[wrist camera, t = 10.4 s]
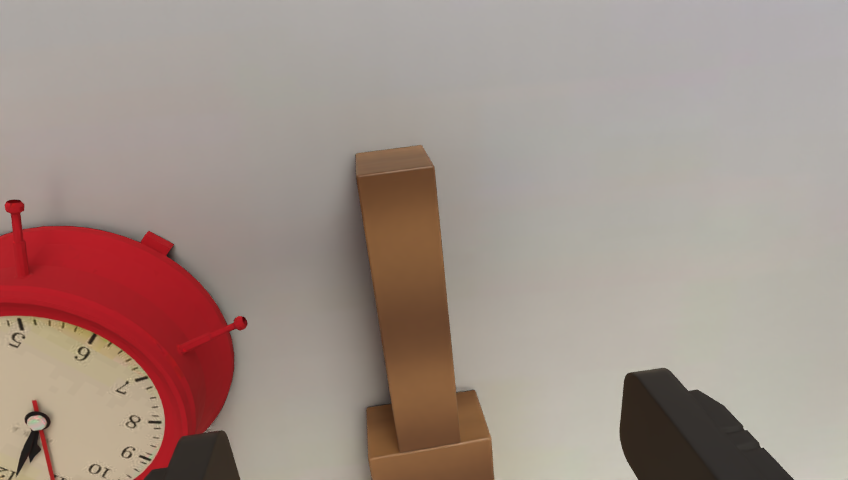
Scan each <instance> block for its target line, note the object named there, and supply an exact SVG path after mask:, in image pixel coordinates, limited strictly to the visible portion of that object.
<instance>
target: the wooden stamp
mask: <svg viewBox="0 0 848 480" xmlns="http://www.w3.org/2000/svg"><path fill="white" fill-rule="evenodd" d="M355 158H356V180H357V187H358V193H359V199H360V206H361V212H362V219H363V225H364V231H365V238H366V244H367V251H368V257H369V263H370V270H371V276H372V282H373V289H374V295H375V302H376V308H377V314H378V321H379V327H380V334H381V340H382V346H383V353H384V359H385V366H386V372H387V378H388V385H389V391H390V397H391V404H387V405H381V406H375V407H369V408H367V410H366V415H367V441H368V461H369V467H370V472H371V477H372V480H494V471H493V456H492V441H491V436H490V433H489V430H488V427H487V424H486V421H485V418H484V415H483V412H482V409H481V406H480V403H479V400H478V397H477V394H476V392H475V390H471V391H465V392H459V393H456V386H455V376H454V365H453V355H452V345H451V334H450V324H449V314H448V303H447V293H446V282H445V272H444V262H443V251H442V241H441V230H440V220H439V210H438V199H437V189H436V178H435V168H434V165H433V164H432V162H431V160H430V158H429V157H428V155H427V153H426V151H425V150H424V148H423V146H422V145H418V146H410V147H403V148H395V149H387V150H379V151H372V152H364V153H357V154H356V155H355Z"/></svg>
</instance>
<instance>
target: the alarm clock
mask: <svg viewBox="0 0 848 480" xmlns="http://www.w3.org/2000/svg"><path fill="white" fill-rule="evenodd" d="M5 210H6V211H7V212H9V213H11V218H12V228H13V232H11V233H8V234H5V235H2V236H0V480H143V479H144V478H145V477H146V476H147V475H148V474H149V473H150V471H151V470H152V469H159V468H166V467H168V465H169V462H170V460H171V457H172V455H173V452H174V450H175V447H176V445H177V443H178V441H179V439H180V438H181V437H182V436H187V435H194V434H201V433H203V432H204V431H206V430H207V428H208V427H209V426H210V425H211V424H212V423H213V421H214V420H215V418H216V417H217V415H218V414H219V412H220V411H221V409H222V407H223V405H224V403H225V400H226V398H227V395H228V392H229V389H230V386H231V382H232V377H233V371H234V352H233V345H232V339H231V336H230V333H229V332H230V331H232V330H234V329H238V330H243V329H245V328H246V326H247V325H248V324H247V320H246V318H245V317H242V316H238V317H237V318H235V319H234V323H232V324H230V325H227V324H226V322H225V319H224V317H223V315H222V313H221V311H220V310H219V308H218V306H217V304H216V303H215V301H214V300H213V299H212V297H211V296H210V295H209V293H208V292H207V291H206V290H205V289H204V288H203V286H202V285H201V284H200V283H199V282H198V281H197V280H196V279H195V278H194V277H193V276H192V275H191V274H190V273H188V272H187V271H186V270H185V269H184V268H183V267H181V266H180V265H179V264H177V263H176V262H174V261H173V260H172V259H170V258H168V257H167V254H168V252H169V251H170V249H171V248H172V246H173V245H174V244H172V243H171V242H169V241H167V240H165V239H163V238H161V237H159V236H157V235H156V234H154V233H152V232H150V231H148V232H147V233H146V234H145V236H144V237H143V239H142V241H141V242H137V241H135V240H132V239H130V238H127V237H124V236H121V235H118V234H114V233H111V232H106V231H102V230H97V229H91V228H84V227H73V226H43V227H36V228H29V229H23V230H22V224H21V216H20V213H21V212H22V211H24V204H23V203H22V202H21V201H20V200H9V201H7V202H6V204H5Z"/></svg>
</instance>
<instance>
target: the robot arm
mask: <svg viewBox="0 0 848 480" xmlns="http://www.w3.org/2000/svg"><path fill="white" fill-rule="evenodd" d="M620 440H621V445H622V449H623V452H624V455H625V457H626V459H627V462H628V463H629V465H630V467H631V468H632V470H633V472H634V473H635V475H636V477H637V478H638V480H794V479H793V478H792V477H791V476H790V475H789V474H788V473H787V472H786V471H785V470H784V469H783V468H782V467H781V466H780V465H779V463H778V462H777V461H776V460H775V459H774V458H773V457H772V456H771V455H770V454H769V453H768V452H767V451H766V450H765V449H764V448H761V447H760V445H759V442H758V441H757V440H756V439H755V438H754V437H753V436H752V435H751V434H750V433H749V432H748V431H747V430H744V429H743V425H742V424H741V423H740V422H739V421H738V420H737V419H736V418H735V417H734V416H733V415H732V414H731V413H730V412H729V411H728V410H727V408H726V407H725V406H724V405H722V404H720V403H719V402H717V401H715V400H714V399H712V398H710V397H709V396H707V395H705V394H704V393H702V392H701V391H699V390H692V391H688V390H687V389H686V388H685V387H684V386H683V385H682V384H681V382H680V381H679V380H678V379H677V378H676V377H675V376H674V375H673V373H672V372H671V371H669V370H668V369H666V368H659V369H652V370H645V371H638V372H631V373H628V374H627V375H626V376H625V379H624V388H623V399H622V410H621V420H620ZM143 480H240V477H239V474H238V470H237V467H236V463H235V460H234V457H233V453H232V450H231V446H230V443H229V440H228V437H227V434H226V433H225V432H224V431H222V430H221V431H214V432H208V433H201V434H194V435H187V436H182V437H181V438H180V439H179V441H178V443H177V445H176V447H175V450H174V452H173V455H172V457H171V460H170V462H169V465H168V467H166V468H159V469H152V470H151V471H150V473H149V474H148V475H147V476H146V477H145V478H144V479H143Z"/></svg>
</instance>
